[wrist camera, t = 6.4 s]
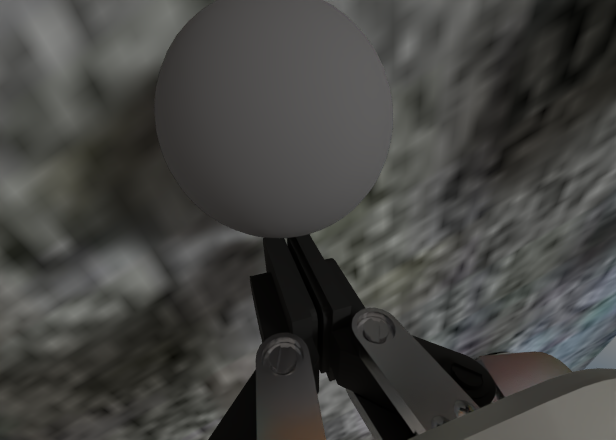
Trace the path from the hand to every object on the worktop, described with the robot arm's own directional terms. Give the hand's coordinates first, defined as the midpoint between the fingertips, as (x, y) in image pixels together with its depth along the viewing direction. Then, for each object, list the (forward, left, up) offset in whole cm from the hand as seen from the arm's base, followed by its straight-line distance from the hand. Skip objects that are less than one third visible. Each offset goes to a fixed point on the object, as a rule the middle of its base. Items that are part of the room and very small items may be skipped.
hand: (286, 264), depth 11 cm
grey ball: (+5, -1, +1) cm, 6 cm away
